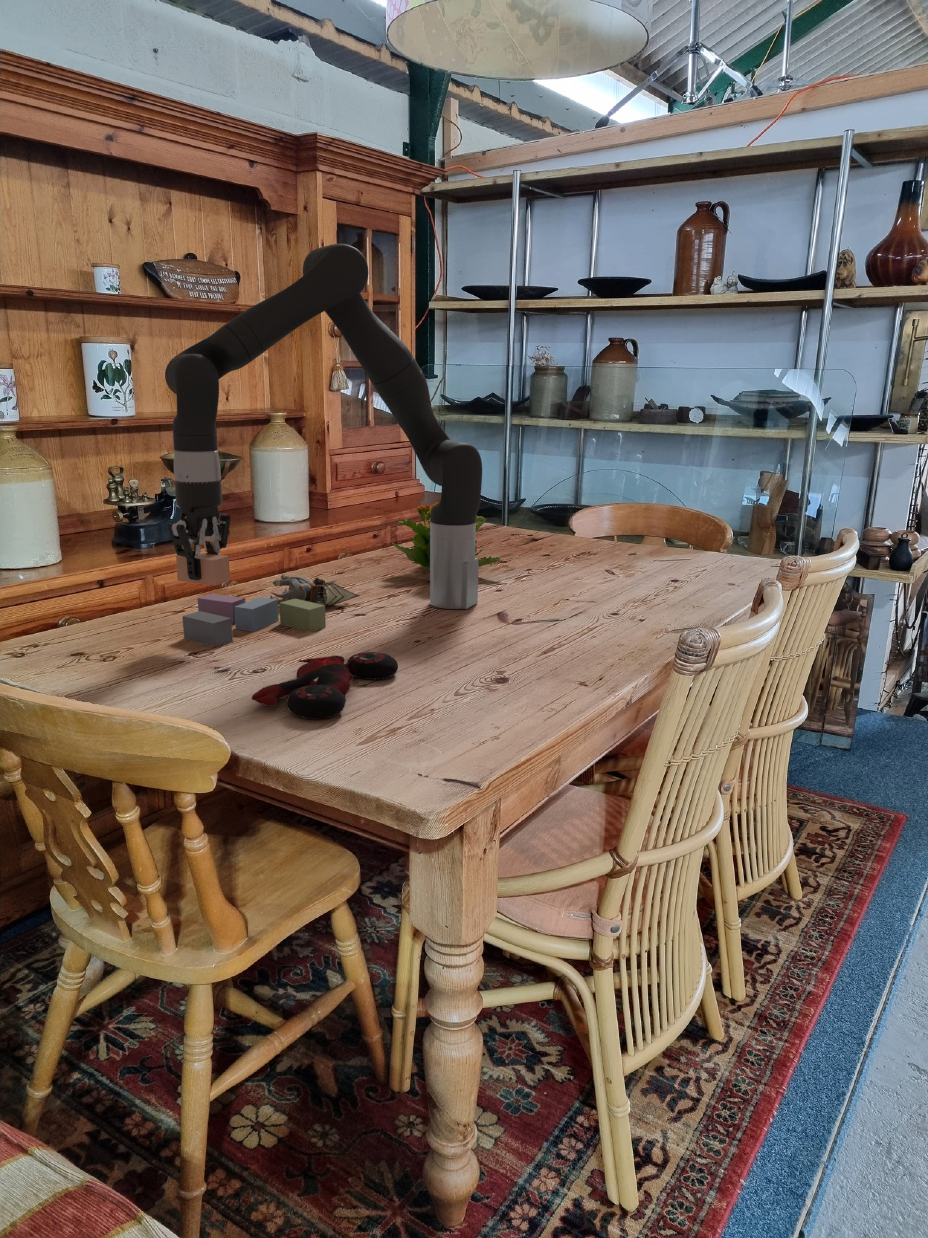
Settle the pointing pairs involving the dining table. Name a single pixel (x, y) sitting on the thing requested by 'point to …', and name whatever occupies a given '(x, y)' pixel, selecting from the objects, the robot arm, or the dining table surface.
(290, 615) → the olive brick
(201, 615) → the charcoal brick
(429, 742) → the dining table surface
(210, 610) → the plum brick
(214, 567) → the terracotta brick
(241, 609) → the slate blue brick
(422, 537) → the potted flower
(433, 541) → the robot arm
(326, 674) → the toy motorcycle
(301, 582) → the figurine
